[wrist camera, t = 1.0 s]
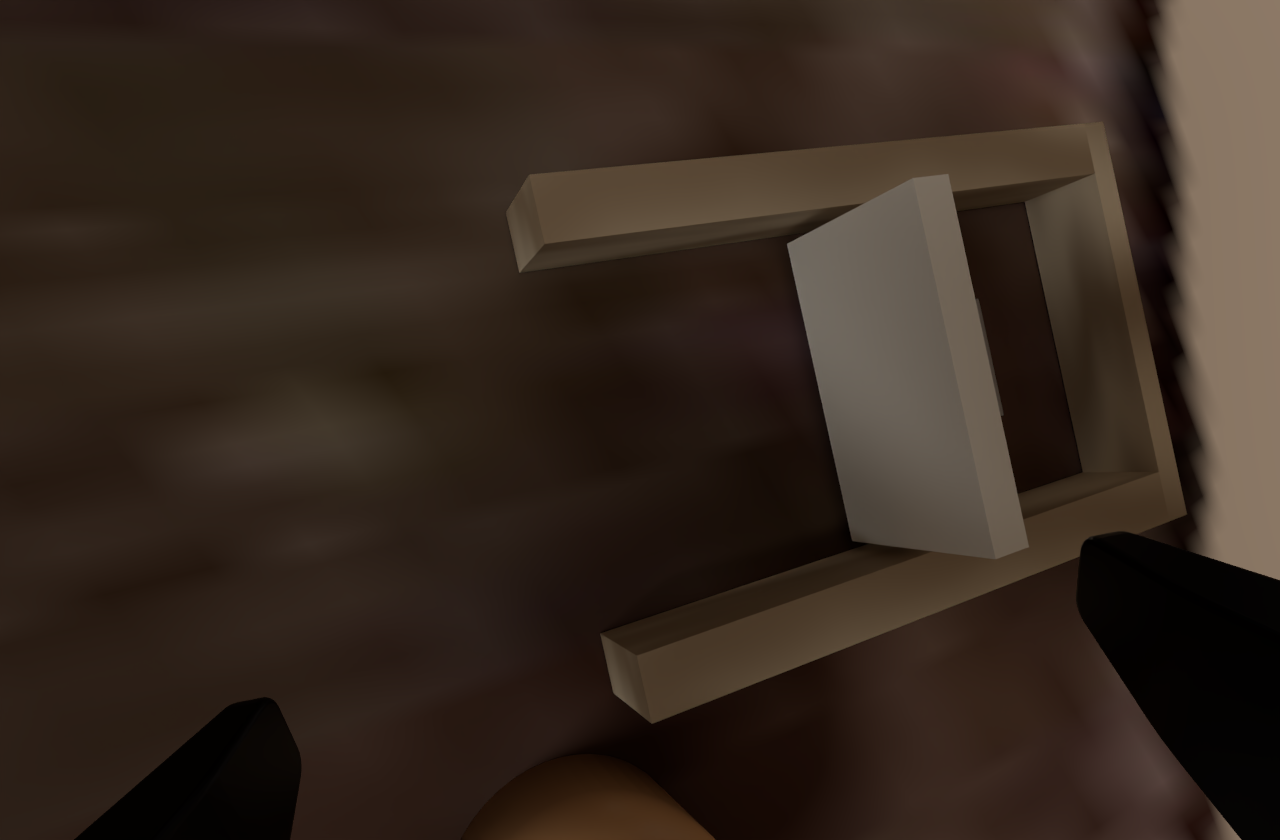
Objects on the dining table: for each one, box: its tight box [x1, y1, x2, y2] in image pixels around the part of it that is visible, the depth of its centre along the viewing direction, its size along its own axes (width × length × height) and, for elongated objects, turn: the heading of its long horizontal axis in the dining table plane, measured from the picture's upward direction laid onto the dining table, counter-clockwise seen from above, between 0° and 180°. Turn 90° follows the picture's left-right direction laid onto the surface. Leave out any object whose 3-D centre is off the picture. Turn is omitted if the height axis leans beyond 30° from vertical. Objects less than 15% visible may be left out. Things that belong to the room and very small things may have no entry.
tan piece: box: [506, 122, 1187, 724], centre depth 21 cm, size 12×18×2 cm
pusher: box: [787, 174, 1029, 559], centre depth 19 cm, size 8×3×5 cm, turn 13°
